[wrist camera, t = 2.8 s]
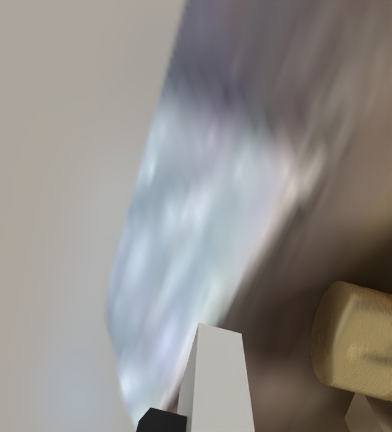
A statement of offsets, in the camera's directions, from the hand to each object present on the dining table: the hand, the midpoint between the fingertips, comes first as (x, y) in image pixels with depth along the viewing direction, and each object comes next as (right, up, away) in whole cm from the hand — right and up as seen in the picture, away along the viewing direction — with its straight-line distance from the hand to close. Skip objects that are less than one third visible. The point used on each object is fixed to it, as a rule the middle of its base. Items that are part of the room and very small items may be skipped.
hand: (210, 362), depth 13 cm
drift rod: (+9, 0, +6) cm, 10 cm away
